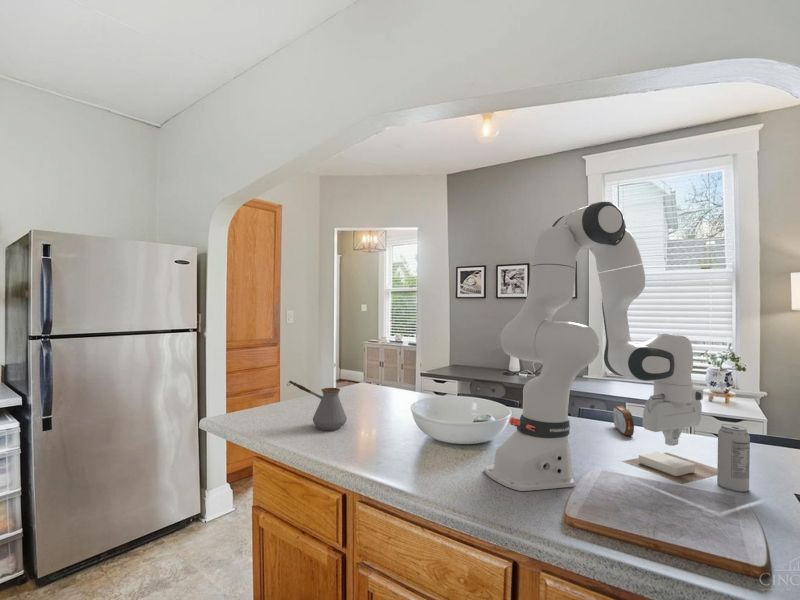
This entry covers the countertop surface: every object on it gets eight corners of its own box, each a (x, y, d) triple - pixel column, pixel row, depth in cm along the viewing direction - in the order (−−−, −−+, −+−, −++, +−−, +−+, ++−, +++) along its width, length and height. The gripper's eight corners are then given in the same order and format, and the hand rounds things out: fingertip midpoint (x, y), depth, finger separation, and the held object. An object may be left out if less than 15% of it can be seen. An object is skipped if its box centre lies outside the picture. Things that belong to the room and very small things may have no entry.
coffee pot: (350, 424, 146) (351, 381, 146) (341, 433, 135) (342, 387, 135) (292, 419, 149) (294, 377, 150) (278, 428, 138) (280, 383, 138)
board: (682, 486, 101) (682, 483, 101) (621, 463, 116) (621, 461, 116) (728, 474, 110) (728, 472, 110) (666, 454, 124) (666, 452, 124)
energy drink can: (734, 484, 103) (735, 423, 104) (756, 495, 97) (757, 430, 97) (710, 484, 103) (711, 423, 103) (730, 495, 97) (732, 430, 97)
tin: (634, 438, 139) (635, 413, 140) (624, 437, 140) (625, 412, 140) (620, 426, 154) (620, 403, 154) (611, 425, 155) (611, 403, 155)
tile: (695, 472, 109) (676, 477, 105) (657, 459, 118) (638, 463, 114) (695, 463, 109) (676, 468, 105) (657, 451, 118) (638, 455, 114)
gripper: (660, 398, 105) (658, 453, 105) (706, 393, 114) (706, 444, 114) (636, 393, 111) (635, 445, 111) (682, 389, 120) (682, 437, 120)
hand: (671, 444), depth 112 cm, fingers closed
